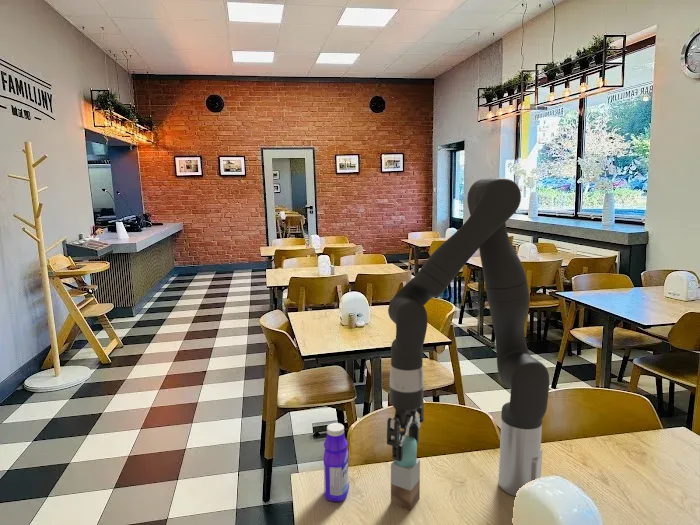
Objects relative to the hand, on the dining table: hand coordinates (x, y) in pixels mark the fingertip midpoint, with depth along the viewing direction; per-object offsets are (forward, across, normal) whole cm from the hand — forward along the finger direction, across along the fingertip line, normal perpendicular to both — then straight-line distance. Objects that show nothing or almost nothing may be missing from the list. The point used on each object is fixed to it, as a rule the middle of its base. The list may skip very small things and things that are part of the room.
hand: (405, 450), depth 110 cm
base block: (+13, 0, 0) cm, 13 cm away
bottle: (+13, -6, +15) cm, 21 cm away
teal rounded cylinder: (+3, 0, 0) cm, 3 cm away
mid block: (+8, 0, 0) cm, 8 cm away
